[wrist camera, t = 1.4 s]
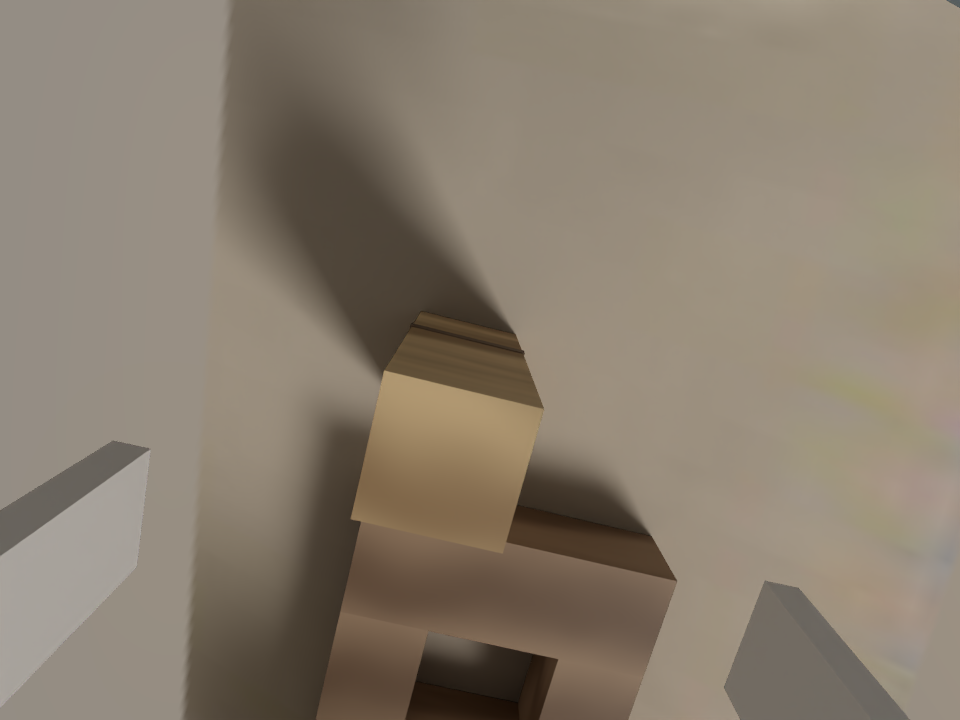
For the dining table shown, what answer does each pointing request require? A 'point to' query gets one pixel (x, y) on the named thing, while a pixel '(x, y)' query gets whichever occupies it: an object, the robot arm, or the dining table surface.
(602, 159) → the dining table surface
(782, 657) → the robot arm
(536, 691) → the board
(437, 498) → the peg
